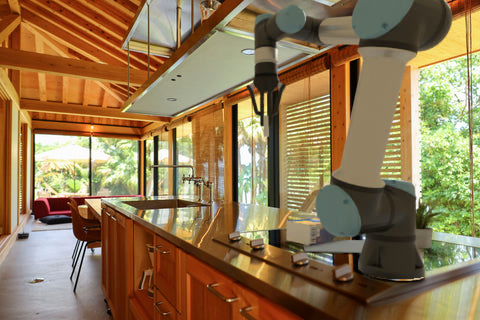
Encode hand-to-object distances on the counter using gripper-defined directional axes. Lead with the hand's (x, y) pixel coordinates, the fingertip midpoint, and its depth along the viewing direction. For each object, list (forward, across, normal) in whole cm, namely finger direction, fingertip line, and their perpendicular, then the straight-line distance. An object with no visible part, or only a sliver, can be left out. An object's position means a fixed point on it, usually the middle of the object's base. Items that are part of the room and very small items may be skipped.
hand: (266, 136), depth 109 cm
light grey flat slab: (+36, -23, -7) cm, 44 cm away
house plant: (+37, -50, -10) cm, 63 cm away
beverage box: (+33, -10, -9) cm, 35 cm away
